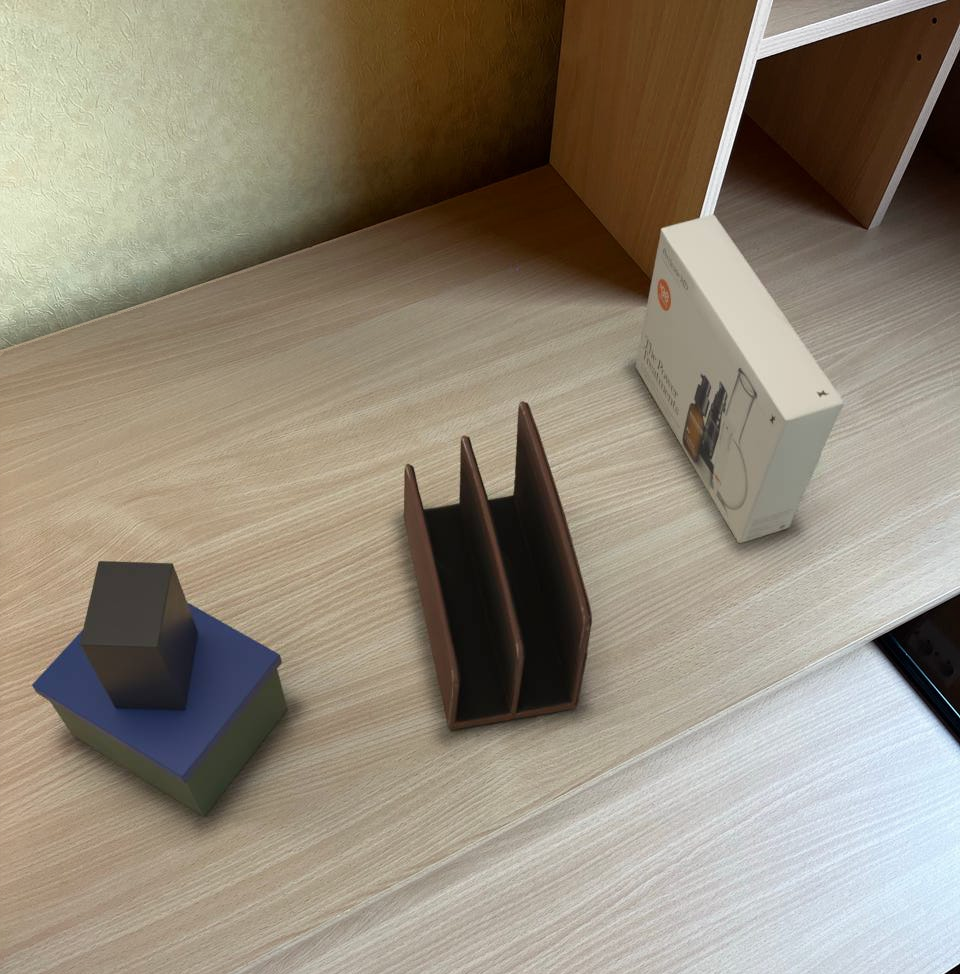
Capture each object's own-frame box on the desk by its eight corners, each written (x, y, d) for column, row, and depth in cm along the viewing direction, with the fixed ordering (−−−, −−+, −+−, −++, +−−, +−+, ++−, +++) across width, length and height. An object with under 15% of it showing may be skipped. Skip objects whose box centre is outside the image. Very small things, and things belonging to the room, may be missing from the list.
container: (66, 737, 80) (30, 685, 73) (159, 630, 84) (134, 572, 77) (205, 823, 77) (182, 777, 70) (293, 708, 82) (280, 654, 74)
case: (115, 708, 72) (79, 644, 65) (131, 630, 75) (98, 560, 68) (185, 710, 72) (157, 646, 65) (198, 632, 75) (173, 562, 68)
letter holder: (519, 502, 92) (533, 384, 80) (578, 710, 82) (603, 612, 70) (402, 519, 91) (397, 402, 78) (448, 733, 81) (451, 637, 69)
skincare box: (627, 368, 100) (658, 224, 86) (681, 354, 101) (720, 210, 87) (733, 548, 90) (787, 418, 77) (791, 530, 92) (854, 399, 78)
